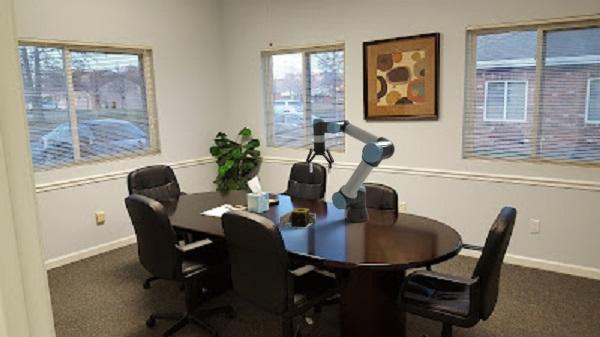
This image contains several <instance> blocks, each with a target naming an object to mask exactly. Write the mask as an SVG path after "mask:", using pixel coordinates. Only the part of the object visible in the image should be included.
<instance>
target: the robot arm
mask: <svg viewBox="0 0 600 337" xmlns="http://www.w3.org/2000/svg"><path fill="white" fill-rule="evenodd" d="M312 127H313V128H312V130H313V131H312V132H313V147H312V148H309V151H308V154H307V157H306V159H305V162H306V163H307V164H308V168H309V173H313V160H314V159H315V158H316V156H322V157H323V158H324V159H325V161H326V162H327V163H328V164H327V173H328V174H331V172H332V170H331V169H332V168H333V166H332V164H333V163H335V160H334V159H335V158H333V156H332V154H331V151H330V150H331V149H330V148H327V149H326V143H325V142H326V141H325V138H326V137H325V136H326V135H325V134H331V135H333V134H334V135H335V134H338V133H343V134H345V135H348V136H349V137H352V138H353V139H355V140H357V141H360V142H361V143H364V146H363V147H362V150H361V161H360V162H359V164H358V165H357V167H356V168H355V170H354V171H353V173H352V175H351V176H350V177H349V178H348V180H347V181H346V184H343V185H341V187H340V188H339V190H338V191H335V192H334V193H332V196H331V201H332V204H333V206H334V207H335V208H336V209H338V210H345V209H347V212H346V214H345V215H346V216H345V219H346V221H349V222H353V223H362V222H367V221H369V220H370V218H369V217H370V216H369V213H368V209H367V188H366V187H365V185H364V186H363V184H364V183H365V181H366V179H368V177H369V175H370V174H371V173H372V171H373V170H374V168H378V167H379V165H380V164H381V162H382V161H383V160H388V159H391V158H392V157H393V156H394V154H395V151H396V150H395V149H396V148H395V144H394V143H393V142H392V141H391V140H389V139H388V138H386V137H384V136H378V135H376V134H373V133H371V132H370V131H367V130H366V129H363V128H361V127H360V126H359V127H358V126H356V125H354V124H352V122H351V121H350V120H349V119H342V120H335V121H334V120H333V121H325V118H322V117H320V118H318V117H317V118H313V120H312ZM313 152H314V153H313Z"/></svg>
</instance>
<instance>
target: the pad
mask: <svg viewBox="0 0 600 337" xmlns="http://www.w3.org/2000/svg"><path fill="white" fill-rule="evenodd" d="M313 224H314V223H309V224H308V225H307V226H306V227H294V226H291V224H289V225H288V226H287V227H288V228H295V229H303V230H305V229H307V228H309V227H310V226H312V225H313Z"/></svg>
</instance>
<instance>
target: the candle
mask: <svg viewBox="0 0 600 337" xmlns="http://www.w3.org/2000/svg"><path fill="white" fill-rule="evenodd" d="M290 211H291V216H292V219H291V221H290V222H291V224H290V225H291V226H294V227H306V226H307V225H308V224H309V223H310V222H309V220H310V219H309V213H310V208H305V207H295V208H294V209H292V210H290ZM294 227H293V228H294Z"/></svg>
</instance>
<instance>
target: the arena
mask: <svg viewBox="0 0 600 337" xmlns="http://www.w3.org/2000/svg"><path fill="white" fill-rule="evenodd" d="M291 211H292V210H290V211H289V212H287V213H284V214H283V215H281V216H280V217H279V226H280V227H283V226H285V225H287V224H288V223H290V222H291V219H292V216H291ZM309 219H310V220H309V222H310V223H313V224H316V223H317V214H316V213H311V212H309Z"/></svg>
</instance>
